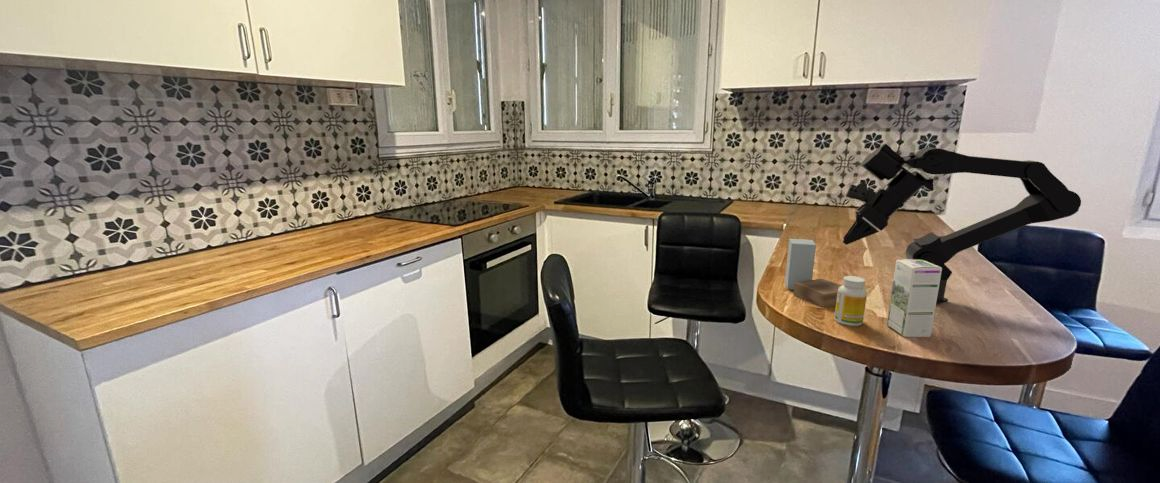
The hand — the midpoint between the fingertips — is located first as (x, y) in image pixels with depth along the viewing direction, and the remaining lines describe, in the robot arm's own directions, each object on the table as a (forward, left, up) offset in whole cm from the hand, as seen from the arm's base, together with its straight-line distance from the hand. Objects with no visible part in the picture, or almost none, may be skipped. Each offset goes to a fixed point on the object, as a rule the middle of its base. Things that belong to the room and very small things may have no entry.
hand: (844, 241), depth 121 cm
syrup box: (-24, +8, -13) cm, 28 cm away
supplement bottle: (-16, +15, -13) cm, 25 cm away
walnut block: (-3, +9, -13) cm, 16 cm away
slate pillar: (+6, +8, -13) cm, 16 cm away
